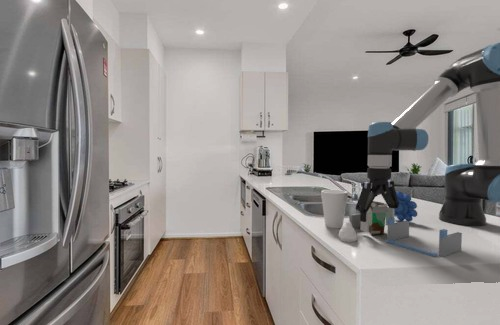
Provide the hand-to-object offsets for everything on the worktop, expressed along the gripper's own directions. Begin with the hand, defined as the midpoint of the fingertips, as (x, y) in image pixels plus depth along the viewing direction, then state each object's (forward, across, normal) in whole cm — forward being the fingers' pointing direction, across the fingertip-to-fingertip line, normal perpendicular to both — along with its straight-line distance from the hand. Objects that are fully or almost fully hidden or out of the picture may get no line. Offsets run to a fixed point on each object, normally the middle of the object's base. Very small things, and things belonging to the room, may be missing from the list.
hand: (377, 228), depth 96 cm
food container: (+2, 0, 0) cm, 2 cm away
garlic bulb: (+2, +16, +1) cm, 16 cm away
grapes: (+2, -22, -6) cm, 23 cm away
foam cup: (+2, +7, -14) cm, 15 cm away
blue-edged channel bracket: (+1, 0, +8) cm, 8 cm away
